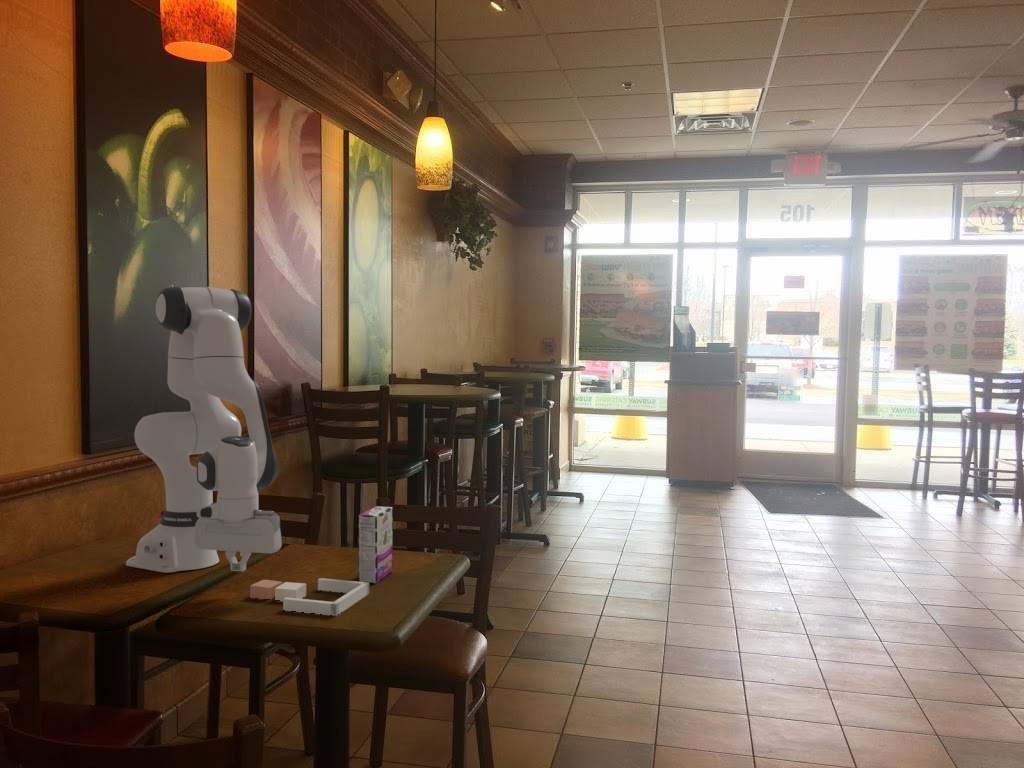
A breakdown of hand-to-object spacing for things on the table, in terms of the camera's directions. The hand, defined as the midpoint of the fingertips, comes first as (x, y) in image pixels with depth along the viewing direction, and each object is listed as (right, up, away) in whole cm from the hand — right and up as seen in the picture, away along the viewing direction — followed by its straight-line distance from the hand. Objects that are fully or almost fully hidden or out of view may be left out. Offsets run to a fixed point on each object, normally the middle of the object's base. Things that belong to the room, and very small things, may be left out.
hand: (238, 570), depth 179 cm
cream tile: (+12, -6, -2) cm, 14 cm away
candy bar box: (+28, -5, +15) cm, 33 cm away
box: (+21, -6, -5) cm, 22 cm away
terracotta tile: (+7, -6, -1) cm, 9 cm away
